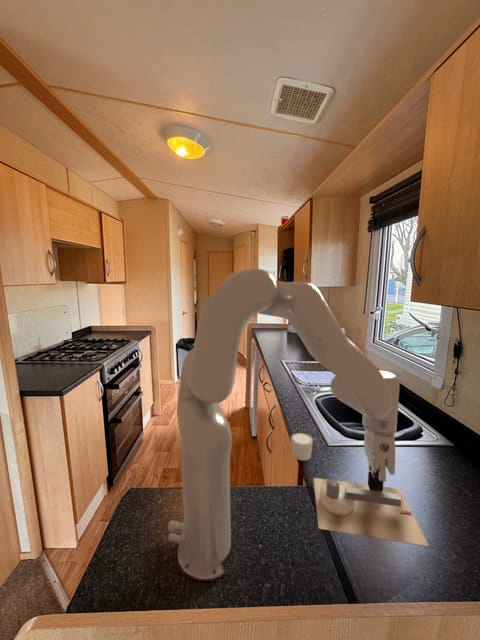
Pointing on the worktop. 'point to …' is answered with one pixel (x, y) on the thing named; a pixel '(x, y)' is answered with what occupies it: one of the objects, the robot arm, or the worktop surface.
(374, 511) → the tan flat board
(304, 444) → the white short cylinder
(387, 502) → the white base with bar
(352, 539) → the worktop surface
